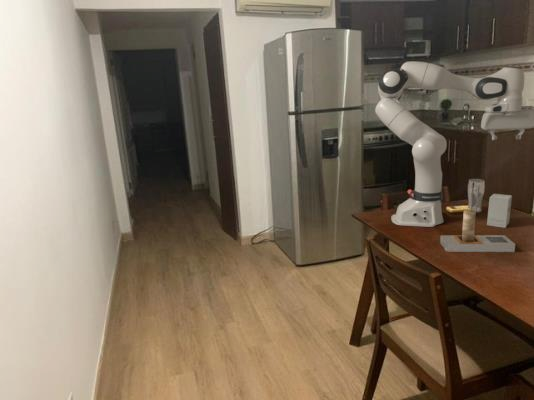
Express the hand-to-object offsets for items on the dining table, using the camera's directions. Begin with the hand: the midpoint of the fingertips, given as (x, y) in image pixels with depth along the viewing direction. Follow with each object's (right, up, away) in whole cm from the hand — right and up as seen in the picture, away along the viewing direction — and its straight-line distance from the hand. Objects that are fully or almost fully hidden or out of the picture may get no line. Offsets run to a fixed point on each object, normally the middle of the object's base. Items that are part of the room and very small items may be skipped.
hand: (506, 139), depth 168 cm
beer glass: (-3, -32, +20) cm, 37 cm away
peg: (-28, -44, -21) cm, 56 cm away
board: (-25, -44, -22) cm, 55 cm away
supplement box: (-3, -37, 0) cm, 37 cm away
